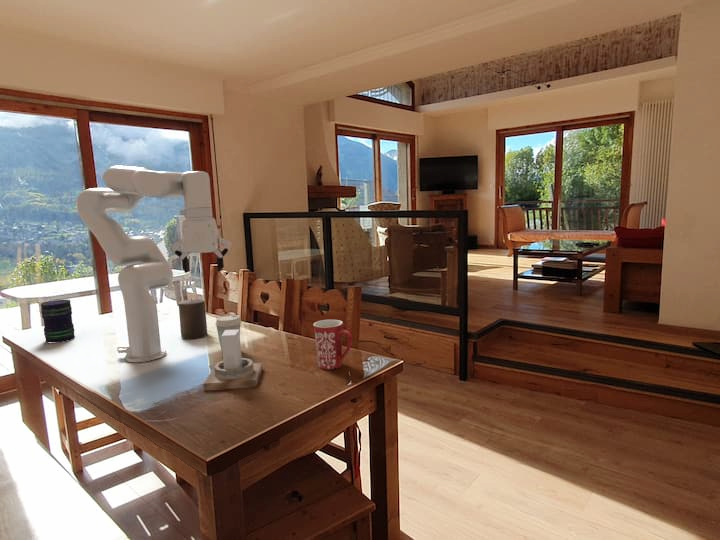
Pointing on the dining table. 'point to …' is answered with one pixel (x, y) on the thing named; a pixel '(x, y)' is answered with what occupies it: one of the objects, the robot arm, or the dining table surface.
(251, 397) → the dining table surface
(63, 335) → the storage jar
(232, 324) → the coffee cup
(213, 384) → the ring stand
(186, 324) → the pillar candle
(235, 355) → the skincare box
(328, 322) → the mug
